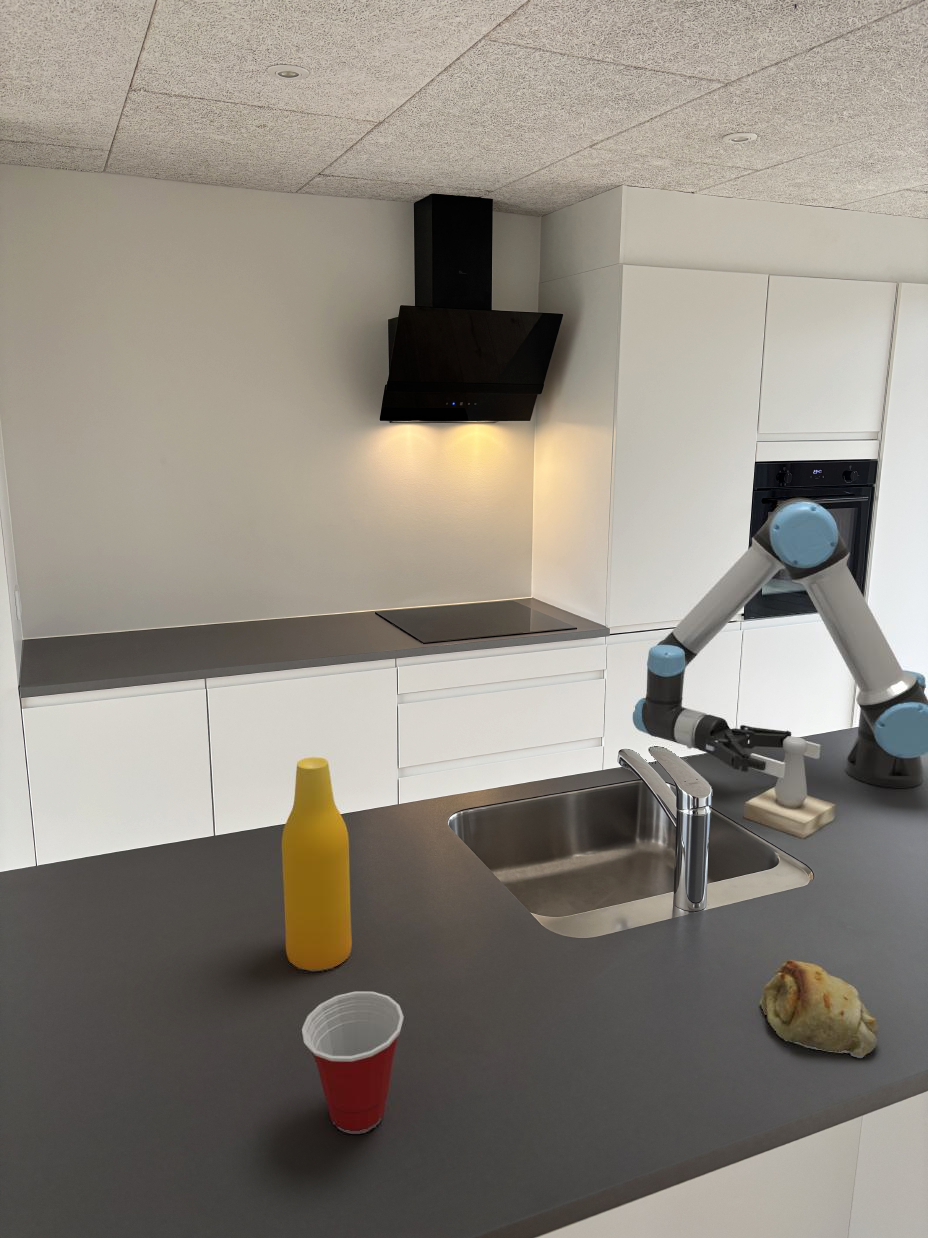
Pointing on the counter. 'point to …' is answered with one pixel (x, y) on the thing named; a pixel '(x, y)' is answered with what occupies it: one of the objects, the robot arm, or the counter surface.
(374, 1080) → the plastic cup
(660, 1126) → the counter surface
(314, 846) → the beer bottle
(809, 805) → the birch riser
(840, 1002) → the pastry
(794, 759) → the salt shaker
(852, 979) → the counter surface
